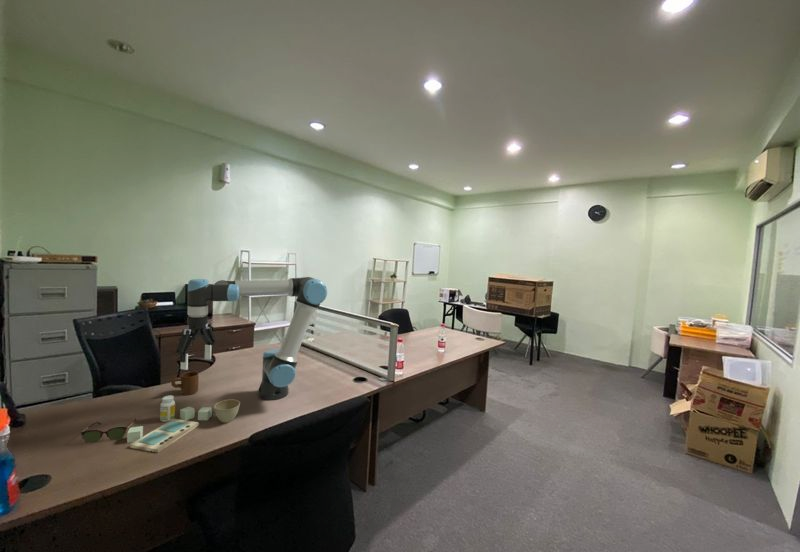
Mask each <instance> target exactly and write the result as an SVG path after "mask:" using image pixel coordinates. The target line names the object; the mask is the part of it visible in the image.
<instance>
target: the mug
mask: <svg viewBox="0 0 800 552" xmlns="http://www.w3.org/2000/svg"><path fill="white" fill-rule="evenodd" d="M199 379H200V378H199V373H198V372H196V371H188V372H184V373H182V374H181V377H175V378H173V379H172V381H171V383H170V384H171V386H172V387H173V388H175V389H178V388H179V389H180V393H181V395H183V396H190V395H195V394H196V393H198V392H199ZM176 382H180V383H176Z"/></svg>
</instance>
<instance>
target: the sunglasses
mask: <svg viewBox="0 0 800 552" xmlns="http://www.w3.org/2000/svg"><path fill="white" fill-rule="evenodd" d="M136 421H137V420H136V417H135V418H134V420H133V421H132V423H131V424H129V425H128V426H117V427H116V426H115V427H112V428H109V429H107V430H106V431H105V430H99V429H90V427H92V426H94V425H96V424H99V425H102V423H100V422H99V421H96V422H95V423H92V424H91V425H89V426H88V427H86V428H85V429H84V430H82V431H80V435H81V437H82V440H83V442H84V443H85V444H89V443H88V442H91V443H97V442H99V441H100V439H101V438H102V437H103V435H104V434H105V436H106V437H107V438H108V439H109V441H114V439H115V440H120V439H121V440H122V439H123V438H124V437H125V435H126V433H127V430H129V429H130V428H131V426H132V425H133V424H134V422H136ZM128 428H129V429H128ZM87 429H90V430H87Z"/></svg>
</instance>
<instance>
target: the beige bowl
mask: <svg viewBox="0 0 800 552" xmlns="http://www.w3.org/2000/svg"><path fill="white" fill-rule="evenodd" d="M240 405H241V401H239V399H238V400H237V399H234V398H233V399H231V398H230V399H224V400H221V401H219V402H217V403H215V405H213V406H214V412H215V415H216V416H217V418H218V420H219V421H220V423H225V424H228V423H231V422H233V421H234V419H235V418H236V416H237V415H238V413H239V409H240Z"/></svg>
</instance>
